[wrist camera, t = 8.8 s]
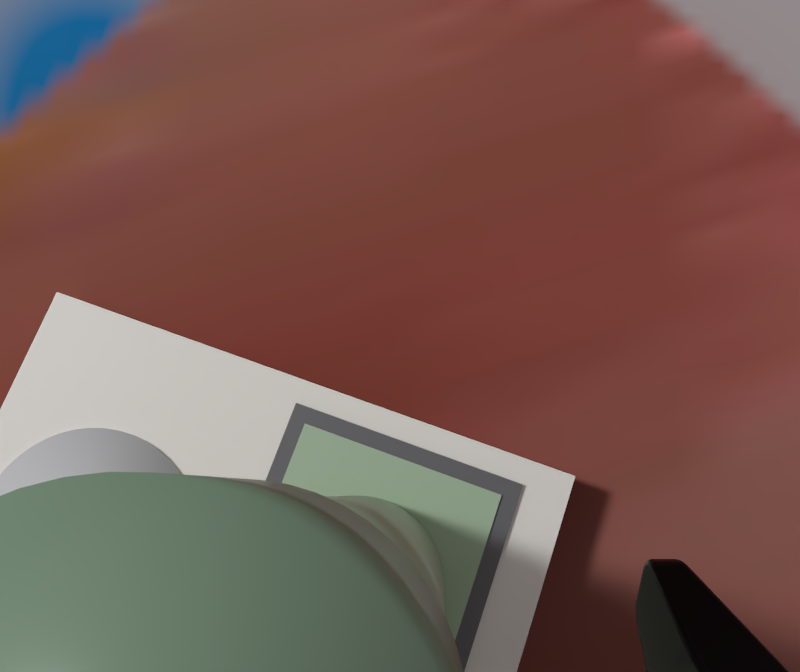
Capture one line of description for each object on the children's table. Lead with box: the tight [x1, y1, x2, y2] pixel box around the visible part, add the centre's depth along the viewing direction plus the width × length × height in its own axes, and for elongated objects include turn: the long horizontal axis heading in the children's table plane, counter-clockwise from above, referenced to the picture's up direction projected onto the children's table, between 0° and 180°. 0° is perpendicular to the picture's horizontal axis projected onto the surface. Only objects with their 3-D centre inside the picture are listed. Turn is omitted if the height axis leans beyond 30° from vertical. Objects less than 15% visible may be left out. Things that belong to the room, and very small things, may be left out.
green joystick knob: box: [0, 472, 464, 672], centre depth 9 cm, size 4×4×12 cm
